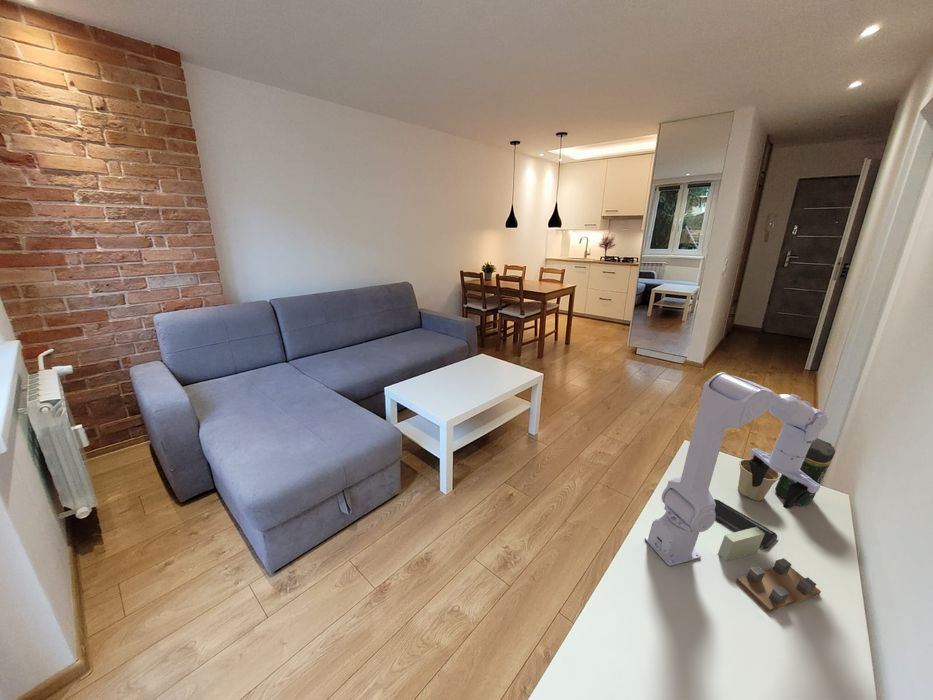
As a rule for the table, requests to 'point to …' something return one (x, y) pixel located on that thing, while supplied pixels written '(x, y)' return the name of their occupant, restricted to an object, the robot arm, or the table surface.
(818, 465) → the coffee jar
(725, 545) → the door panel
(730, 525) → the phone
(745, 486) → the flower pot
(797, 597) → the rail
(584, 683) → the table surface
